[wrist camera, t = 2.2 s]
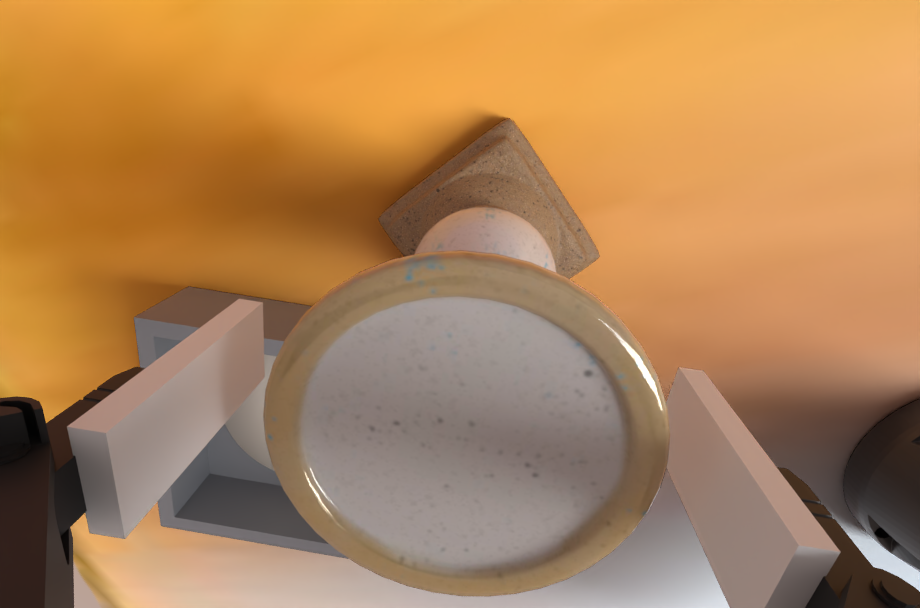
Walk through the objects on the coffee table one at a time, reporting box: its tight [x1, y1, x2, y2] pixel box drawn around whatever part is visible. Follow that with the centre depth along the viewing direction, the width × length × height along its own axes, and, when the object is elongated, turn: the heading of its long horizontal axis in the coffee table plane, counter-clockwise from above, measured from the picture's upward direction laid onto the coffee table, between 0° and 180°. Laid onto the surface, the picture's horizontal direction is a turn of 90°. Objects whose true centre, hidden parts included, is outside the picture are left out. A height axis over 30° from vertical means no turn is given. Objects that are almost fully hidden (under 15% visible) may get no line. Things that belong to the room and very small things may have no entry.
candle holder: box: [263, 118, 670, 596], centre depth 23 cm, size 11×11×24 cm
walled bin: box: [134, 287, 349, 559], centre depth 38 cm, size 18×18×6 cm
